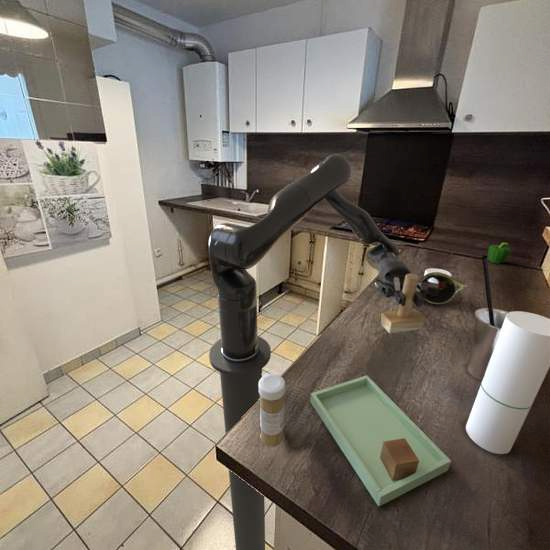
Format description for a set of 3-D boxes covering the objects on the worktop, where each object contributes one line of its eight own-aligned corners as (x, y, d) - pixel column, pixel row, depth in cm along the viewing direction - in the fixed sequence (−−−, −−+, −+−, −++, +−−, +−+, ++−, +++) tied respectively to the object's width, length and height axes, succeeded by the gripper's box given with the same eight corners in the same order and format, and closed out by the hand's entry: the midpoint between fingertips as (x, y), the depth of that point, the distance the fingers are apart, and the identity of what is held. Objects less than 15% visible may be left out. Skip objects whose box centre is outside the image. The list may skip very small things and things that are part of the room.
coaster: (420, 280, 121) (422, 272, 120) (427, 273, 128) (429, 266, 127) (446, 287, 115) (449, 279, 114) (452, 279, 122) (454, 271, 121)
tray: (310, 401, 62) (310, 393, 61) (365, 383, 67) (367, 375, 66) (378, 507, 44) (380, 497, 43) (448, 470, 49) (451, 460, 48)
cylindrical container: (514, 436, 55) (567, 323, 45) (507, 462, 50) (564, 342, 40) (471, 413, 60) (510, 306, 50) (461, 435, 55) (501, 322, 45)
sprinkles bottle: (268, 423, 57) (268, 368, 52) (288, 434, 55) (290, 378, 50) (254, 440, 54) (253, 384, 49) (275, 453, 52) (276, 396, 46)
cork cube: (379, 457, 50) (383, 441, 49) (400, 453, 51) (404, 437, 49) (392, 481, 47) (396, 464, 45) (414, 477, 47) (419, 460, 46)
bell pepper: (484, 262, 141) (490, 242, 137) (486, 258, 147) (492, 239, 143) (505, 266, 136) (512, 246, 132) (506, 262, 142) (513, 242, 138)
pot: (455, 266, 112) (466, 267, 95) (461, 295, 111) (473, 301, 95) (406, 274, 118) (409, 277, 101) (412, 301, 118) (416, 309, 101)
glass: (447, 373, 70) (481, 256, 59) (462, 353, 77) (496, 245, 66) (500, 399, 63) (552, 271, 51) (512, 374, 70) (560, 257, 58)
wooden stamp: (379, 323, 74) (388, 274, 67) (412, 319, 75) (423, 270, 69) (389, 334, 70) (399, 282, 64) (423, 329, 72) (436, 278, 65)
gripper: (417, 287, 82) (440, 319, 66) (366, 284, 84) (377, 315, 68) (422, 262, 79) (448, 290, 63) (369, 259, 81) (382, 286, 65)
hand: (411, 302), depth 66 cm, fingers closed on wooden stamp, 3 cm apart
